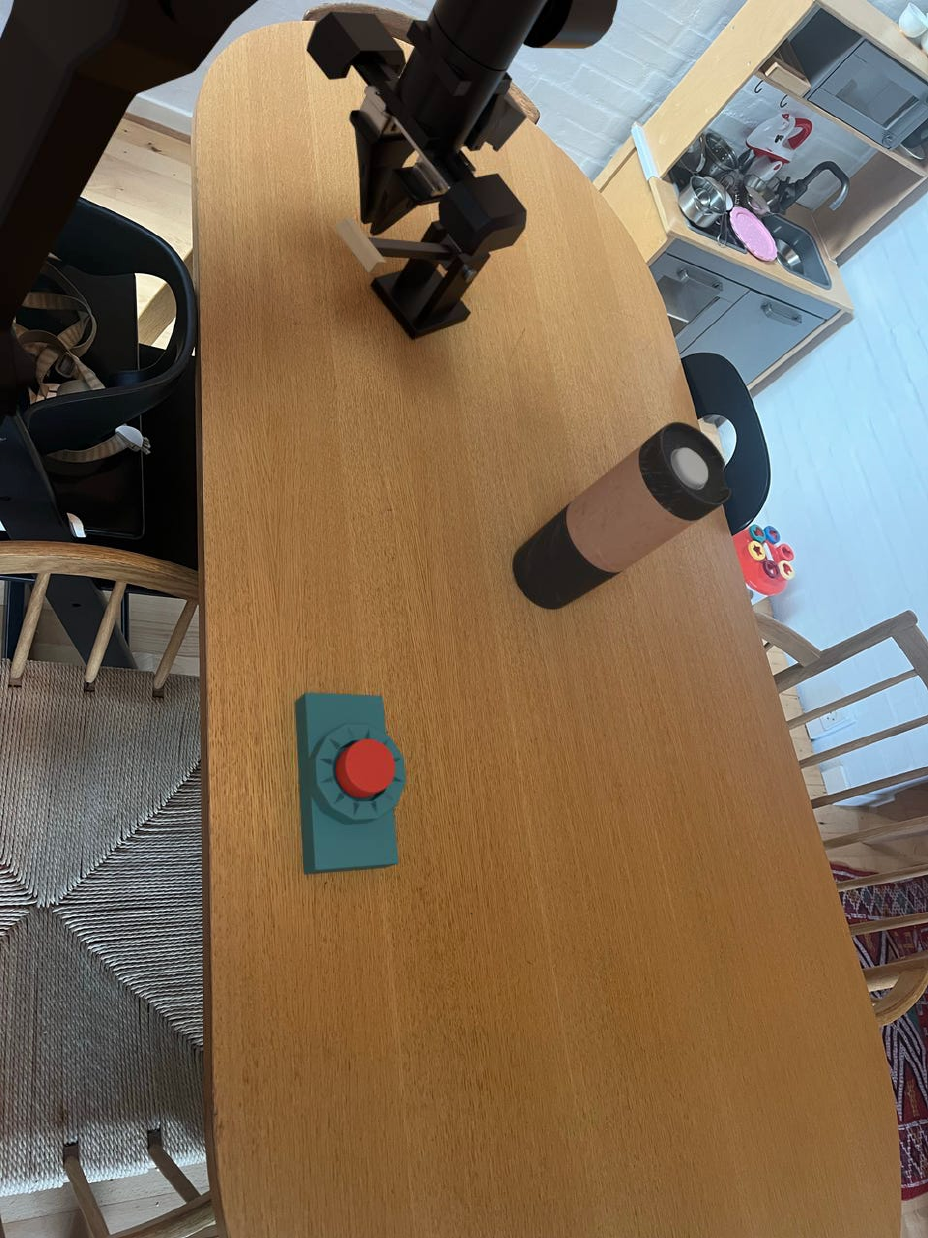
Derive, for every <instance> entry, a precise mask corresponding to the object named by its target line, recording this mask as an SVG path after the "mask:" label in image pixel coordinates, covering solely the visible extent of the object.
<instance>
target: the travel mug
mask: <svg viewBox="0 0 928 1238" xmlns="http://www.w3.org/2000/svg"><path fill="white" fill-rule="evenodd" d="M720 451H721V450H719V449H718V447H717V445H715V443H714V442H713V441H712V440H711V439H710V438H709V437H708V436H707V435H705V433H704V432H702V431H701V430H700V429H698V428H696V427H695V426H693V425H691V424H689V423H686V422H683V421H673V422H669V423H667V424H666V425H664V426H663V427H661V428H660V429H658V431H656V432H655V433H654V434H653V435H651V436H650V437H649V438H647V439H646V440H645V441H644V442H643V443H641V444H640V445H639V446H638V447H636V448H635V449H634V450H633V451H632V452H630V453H629V454H628V455H626V456H625V457H624V458H623V459H621V460H620V461H619V462H618V463H616V464H615V465H614V466H613V467H612V468H609V470H608V471H606V473H604V474H602V475H601V476H600V477H599V478H598V479H597V480H596V481H594V482H593V483H591V484H590V485H589V486H588V487H586V488H585V490H583V491H582V492H581V493H579V494H578V495H577V496H576V497H574V498H573V499H572V500H571V501H569V503H567V504H566V505H565V506H564V507H563V508H562V509H561V510H560V511H558V512H557V513H556V514H555V515H554V516H553V517H551V519H549V520H548V521H547V522H546V523H545V524H544V525H543V526H542V527H540V528H539V529H538V530H537V531H536V532H535V533H533V535H532V536H530V537H529V538H528V539H527V540H525V542H524V543H523V544H522V545H521V546H520V547H519V548H517V550H516V552H515V554H514V556H513V560H512V572H513V577H514V580H515V582H516V584H517V586H518V588H519V589H520V591H521V592H522V593H523V595H524V596H525V597H526V598H527V599H528V600H529V601H530V602H532V603H533V604H534V605H536V606H538V607H541V608H543V609H546V610H559V609H561V608H564V607H566V606H568V605H569V604H571V603H572V602H575V601H576V600H577V599H579V598H581V597H583V596H585V595H586V594H588V593H589V592H591V591H593V590H594V589H596V588H598V587H599V586H602V585H603V584H604V583H606V582H608V581H610V580H611V579H613V578H614V577H616V576H618V575H619V574H621V573H623V572H625V570H627V569H629V568H630V567H632V566H633V565H635V564H636V563H638V562H639V561H641V560H642V559H644V558H645V557H647V556H648V555H650V554H651V553H652V552H654V551H656V550H657V549H658V548H660V547H662V546H663V545H664V544H666V543H668V542H669V541H670V540H672V539H673V538H675V537H677V536H678V535H680V534H681V533H682V532H684V531H685V530H686V529H688V528H689V527H691V526H693V525H694V524H696V523H697V522H699V521H700V520H701V519H703V518H704V517H706V516H707V515H709V514H710V513H712V512H714V511H715V510H717V509H718V508H719V507H721V506H722V505H723V504H724V503H726V502H727V501H728V499H729V498H730V496H731V495H732V494H731V493H732V488H730V487H729V486H728V485H727V483H726V479H725V468H726V460H725V459H724V456H723V455H722V453H721V452H720Z"/></svg>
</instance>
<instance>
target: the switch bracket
mask: <svg viewBox="0 0 928 1238" xmlns="http://www.w3.org/2000/svg"><path fill="white" fill-rule="evenodd" d="M447 234H448V233H447V232H446V231H445V229H444V228H443V227H442V225H441V224H440V223H439V219H438V220H433V221H431V223H430V224H429V225H428V226H427V229H426V230H425V232H424V234H423V235H422V237H421V239H420V240H419V242H426V243H437V244H439V243H440V242H441V241H442V240H443V238H444V237H445V236H446V235H447ZM491 257H492V255H491V253H490V252H488V253H484V254H481V255H477V256H474V257H471V256H469V255H467V254H461V255H458V256H457V257H456V259H455V260H454V262H453V263H452V265H451V266H450V268H449V269H448V271H445V274H444V275H442V273H441V272H440V271H439V270H438V268H439V266H440V263H439V262H438V261H437V260H426V259H409V258H408V259H407V262H406V263H405V265H404V266H403V268H402V269H400V270H399V269H398V270H395V271H392V272H388V273H384V274H382V275H377V276H375V277H374V278H373V280H372V281H371V283H370V285H369V286H370V287H371V288H372V290H373V291H374V292H375V294H376V295H377V297H378V298H379V299H380V300H381V302H382V303H383V304H384V306H385V307H386V308H387V309H388V311H389V312H390V313H391V314H392V316H393V318H395V320H396V321H397V322H398V324H399V325H400V326H401V327H402V329H403V330H404V331H405V333H406V334H407V336H408V337H409V338H410V339H411V340H412V341H413V340H416V339H418V338H421V337H424V336H427V335H429V334H432V333H435V332H437V331H440V330H443V329H446V328H448V327H451V326H455V325H457V324H460V323H462V322H465V321H467V320H468V318H469V317H470V315H471V314H472V312H471V310H470V308H468V307H467V306H466V304H465V303H464V302H463V300H462V297H463V296H464V295H465V294H466V292H467V291H468V289H469V287H470V286H471V285H472V284H473V283H474V280H475V279H476V278H477V276H478V275H479V274H480V272H481V271H482V269H483V268H484V267H485V265H486V263H488V261H489V260H490V258H491Z"/></svg>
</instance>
